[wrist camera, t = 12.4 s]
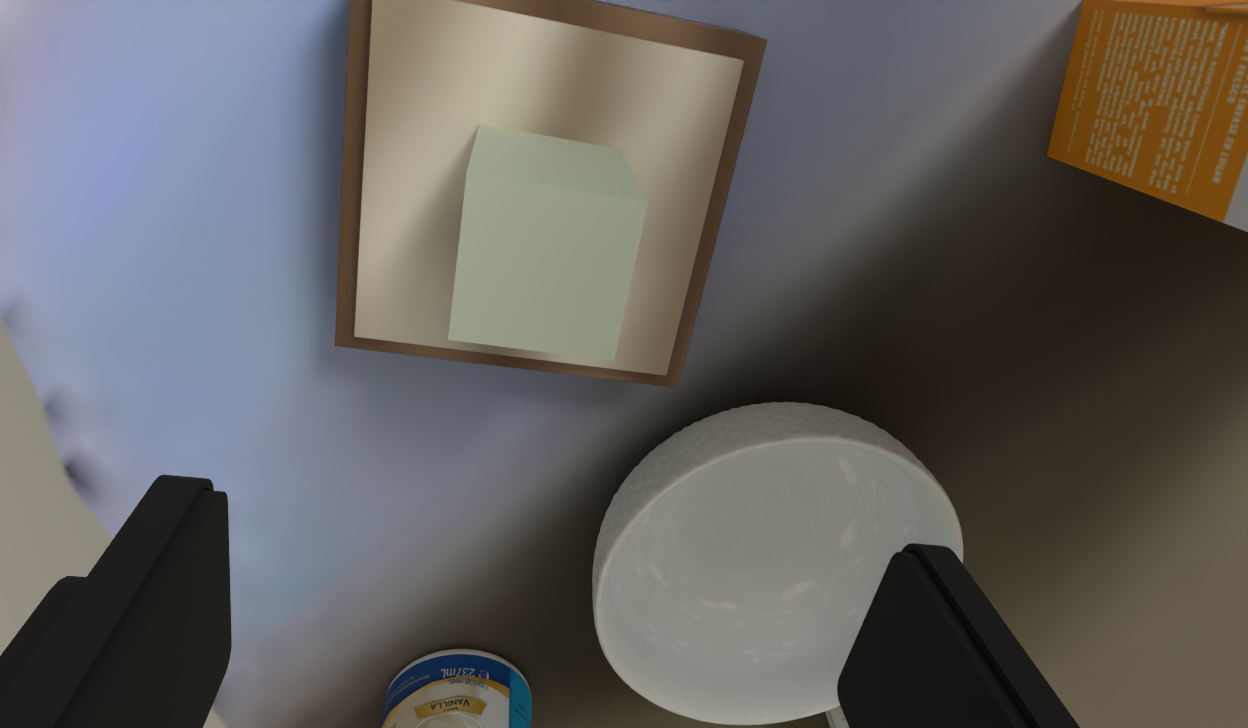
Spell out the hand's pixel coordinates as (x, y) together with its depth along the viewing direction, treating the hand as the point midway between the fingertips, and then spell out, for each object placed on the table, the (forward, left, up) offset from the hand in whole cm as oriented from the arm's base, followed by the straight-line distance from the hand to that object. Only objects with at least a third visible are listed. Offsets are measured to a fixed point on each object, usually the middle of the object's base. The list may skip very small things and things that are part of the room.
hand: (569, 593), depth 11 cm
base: (0, 0, -24) cm, 24 cm away
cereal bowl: (-13, +15, -24) cm, 31 cm away
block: (0, 0, -20) cm, 20 cm away
